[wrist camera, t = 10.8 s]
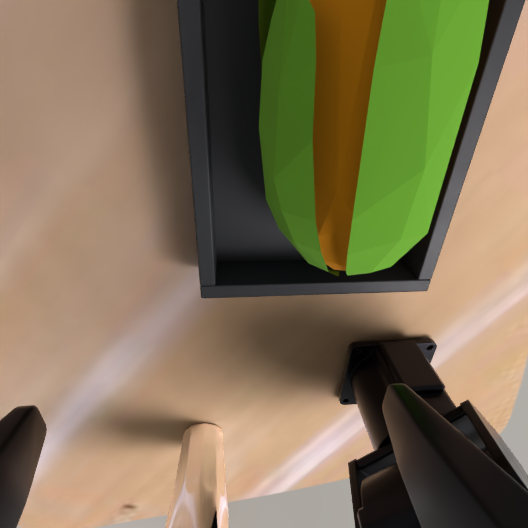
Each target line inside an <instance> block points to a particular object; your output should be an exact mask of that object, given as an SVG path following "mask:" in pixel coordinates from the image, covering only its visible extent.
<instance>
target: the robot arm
mask: <svg viewBox="0 0 528 528" xmlns="http://www.w3.org/2000/svg"><path fill="white" fill-rule="evenodd" d="M436 347H437V345H436V343H435V342H434V341H433V340H432V339H415V340H394V341H372V342H355V343H353V344H351V345H350V347H349V351H348V355H347V360H346V364H345V369H344V374H343V378H342V383H341V388H340V392H339V401H340V403H341V404H343V405H348V404H357V405H358V408H359V410H360V413H361V416H362V418H363V421H364V424H365V427H366V429H367V432H368V435H369V437H370V440H371V443H372V445H373V448H374V451H373V452H371V453H369V454H367V455H365V456H364V457H362V458H360V459H358V460H356V459H354V460H353V461H351V462H349V463H348V466H349V475H350V485H351V494H352V503H353V511H354V520H355V528H528V476H527V474H526V472H525V471H524V469H523V467H522V466H521V464H520V463H519V461H518V460H517V459H516V457H515V456H514V455H513V453H512V452H511V451H510V449H509V448H508V447H507V445H506V444H505V443H504V441H503V440H502V438H501V437H500V436H499V434H498V433H497V432H496V430H495V429H494V428H493V427H492V426H491V425H490V424H489V422H488V421H487V420H486V419H485V418H484V417H483V416H482V415H481V413H480V412H479V411H478V410H477V409H476V408H475V407H474V406H473V404H472V403H471V402H470V401H469V400H466V401H464V402H462V403H460V406H458V407H457V408H456V406H455V404H454V403H453V401H452V400H451V398H450V397H449V395H448V394H447V392H446V391H445V389H444V388H445V386H444V384H443V382H442V381H441V379H440V378H439V376H438V375H437V373H436V372H435V370H434V369H433V367H432V366H431V364H430V362H431V360H432V357H433V355H434V352H435V350H436ZM356 349H357V350H356ZM46 431H47V428H46V424H45V422H44V420H43V418H42V416H41V414H40V412H39V410H38V408H37V407H36V406H19V407H16V408H15V409H13V410H12V411H11V412H10V413H8V414H7V415H6V416H5V417H4V418H3V419H1V420H0V528H16V527H17V524H18V522H19V519H20V517H21V514H22V512H23V509H24V506H25V504H26V501H27V498H28V495H29V492H30V488H31V485H32V481H33V478H34V474H35V471H36V468H37V464H38V461H39V457H40V454H41V450H42V447H43V443H44V440H45V436H46Z"/></svg>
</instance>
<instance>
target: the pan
mask: <svg viewBox="0 0 528 528" xmlns="http://www.w3.org/2000/svg"><path fill="white" fill-rule="evenodd" d="M524 2H525V0H489V5H488V11H487V17H486V22H485V28H484V34H483V40H482V45H481V51H480V57H479V63H478V66H477V69H476V73H475V76H474V79H473V83H472V86H471V90H470V93H469V96H468V100H467V103H466V106H465V110H464V113H463V116H462V120H461V123H460V126H459V130H458V133H457V136H456V140H455V143H454V147H453V150H452V153H451V157H450V160H449V163H448V167H447V170H446V173H445V177H444V180H443V183H442V187H441V190H440V194H439V197H438V200H437V204H436V207H435V210H434V214H433V217H432V220H431V224H430V227H429V230H428V233H427V234H426V235H425V236H424V237H423V238H422V239H421V240H420V241H419V242H418V243H416V244H415V245H414V246H413V247H412V248H411V249H410V250H409V251H408V252H407V253H406V254H404V255H403V256H402V257H401V258H400V259H399V260H398V261H397V262H396V263H395V264H394V265H392V266H391V267H389V268H385V269H382V270H378V271H375V272H372V273H365V274H357V275H348V276H347V274H346V271H343V270H334V269H332V268H331V267H329V266H328V265H326V266H327V269H328V270H333V271H339V276H336V275H334V274H332V273H329V272H327V271H325V270H323V269H320V268H318V267H316V266H314V265H311V264H309V263H308V262H307V261H306V260H305V259H304V258H303V256H302V255H301V254H300V253H299V252H298V251H297V250H296V248H295V247H294V246H293V245H292V244H291V242H290V241H289V240H288V239H287V238H286V236H285V235H284V234H283V233H282V232H281V231H280V229H279V228H278V226H277V223H276V221H275V219H274V217H273V214H272V212H271V210H270V208H269V205H268V203H267V201H266V194H265V184H264V174H263V164H262V154H261V144H260V134H259V114H260V96H261V79H262V70H261V54H260V37H259V0H177V8H178V20H179V32H180V44H181V57H182V69H183V81H184V93H185V106H186V118H187V130H188V142H189V154H190V167H191V179H192V191H193V203H194V216H195V228H196V240H197V252H198V265H199V277H200V285H201V286H200V289H201V297H202V298H228V297H258V296H289V295H319V294H350V293H380V292H411V291H427V290H428V287H429V284H430V279H431V278H432V275H433V272H434V269H435V266H436V263H437V260H438V257H439V254H440V251H441V248H442V245H443V242H444V239H445V236H446V234H447V231H448V228H449V225H450V222H451V219H452V216H453V213H454V210H455V207H456V204H457V201H458V198H459V195H460V192H461V189H462V186H463V183H464V180H465V177H466V174H467V171H468V168H469V165H470V162H471V159H472V156H473V153H474V151H475V148H476V145H477V142H478V139H479V136H480V133H481V130H482V127H483V124H484V121H485V118H486V115H487V112H488V109H489V106H490V103H491V100H492V97H493V94H494V91H495V88H496V85H497V82H498V79H499V76H500V73H501V70H502V68H503V65H504V62H505V59H506V56H507V53H508V50H509V47H510V44H511V41H512V38H513V35H514V32H515V29H516V26H517V23H518V20H519V17H520V14H521V11H522V8H523V5H524Z"/></svg>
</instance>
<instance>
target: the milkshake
mask: <svg viewBox="0 0 528 528" xmlns="http://www.w3.org/2000/svg"><path fill="white" fill-rule="evenodd" d="M165 528H230V526H229V516H228V505H227V494H226V480H225V465H224V449H223V434H222V431H221V430H220V429H219V428H218V427H217V426H216V425H212V424H207V423H201V424H196V425H192V426H191V427H190V428H188V429H187V430H186V431H185V432H184V437H183V442H182V447H181V453H180V458H179V463H178V469H177V474H176V479H175V484H174V490H173V495H172V499H171V503H170V508H169V512H168V517H167V521H166V526H165Z"/></svg>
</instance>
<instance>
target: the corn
mask: <svg viewBox="0 0 528 528" xmlns="http://www.w3.org/2000/svg"><path fill="white" fill-rule="evenodd" d="M488 5H489V0H259V37H260V54H261V70H262V79H261V96H260V114H259V134H260V144H261V154H262V164H263V174H264V184H265V194H266V201H267V203H268V205H269V208H270V210H271V212H272V214H273V217H274V219H275V221H276V223H277V226H278V228H279V229H280V231H281V232H282V233H283V234H284V235H285V236H286V238H287V239H288V240H289V241H290V242H291V244H292V245H293V246H294V247H295V248H296V250H297V251H298V252H299V253H300V254H301V255H302V256H303V258H304V259H305V260H306V261H307V262H308V263H309V264H311V265H314V266H316V267H318V268H320V269H323V270H325V271H327V272H329V273H332V274H334V275H336V276H339V271H333V270H328V269H327V266H326V265H328V266H329V267H331V268H332V269H334V270H343V271H346V274H347V276H348V275H357V274H365V273H372V272H375V271H378V270H382V269H385V268H389V267H391V266H392V265H394V264H395V263H396V262H397V261H398V260H399V259H400V258H401V257H402V256H403V255H404V254H406V253H407V252H408V251H409V250H410V249H411V248H412V247H413V246H414V245H415V244H416V243H418V242H419V241H420V240H421V239H422V238H423V237H424V236H425V235H426V234H427V233H428V230H429V227H430V224H431V220H432V217H433V214H434V210H435V207H436V204H437V200H438V197H439V194H440V190H441V187H442V183H443V180H444V177H445V173H446V170H447V167H448V163H449V160H450V157H451V153H452V150H453V147H454V143H455V140H456V136H457V133H458V130H459V126H460V123H461V120H462V116H463V113H464V110H465V106H466V103H467V100H468V96H469V93H470V90H471V86H472V83H473V79H474V76H475V73H476V69H477V66H478V63H479V57H480V51H481V45H482V40H483V34H484V28H485V22H486V17H487V11H488Z"/></svg>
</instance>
